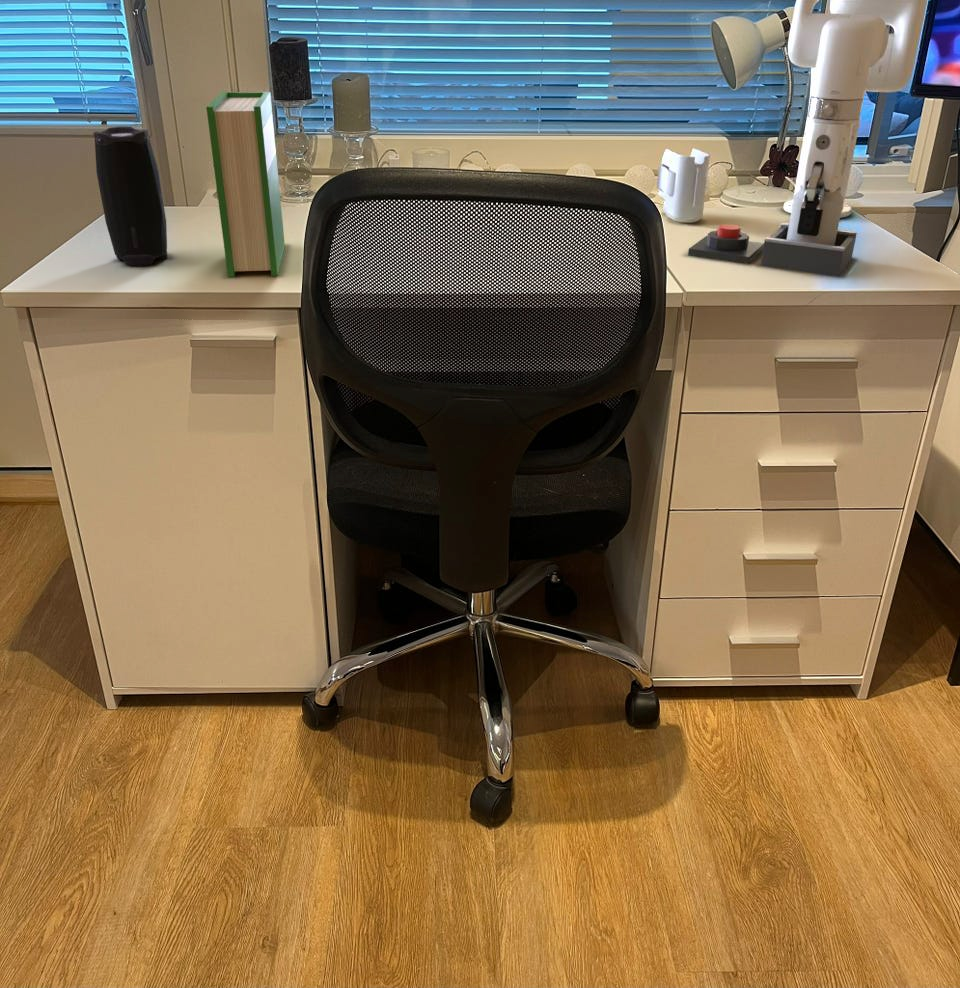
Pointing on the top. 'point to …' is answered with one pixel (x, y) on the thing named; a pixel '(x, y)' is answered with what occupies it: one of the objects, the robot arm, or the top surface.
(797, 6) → the robot arm
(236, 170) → the hardback book
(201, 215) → the top surface
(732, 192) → the top surface
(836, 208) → the can
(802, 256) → the grey open tray
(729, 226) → the release button
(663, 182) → the cable organizer
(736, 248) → the control block
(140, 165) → the portable speaker
